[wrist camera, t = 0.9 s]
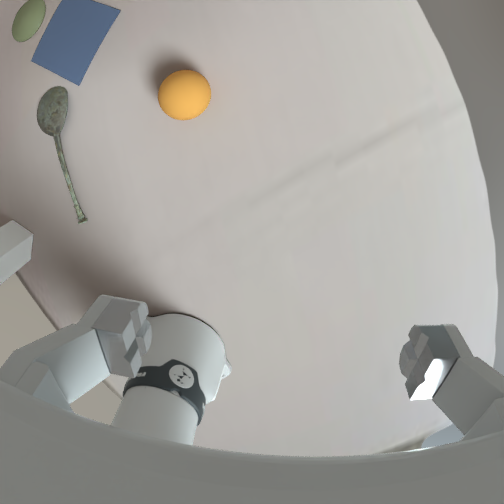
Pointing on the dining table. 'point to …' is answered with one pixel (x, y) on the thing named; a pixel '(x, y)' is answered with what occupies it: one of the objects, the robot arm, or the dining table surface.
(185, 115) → the ball
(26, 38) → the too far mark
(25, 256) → the milk
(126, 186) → the dining table surface
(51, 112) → the soupspoon
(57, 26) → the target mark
